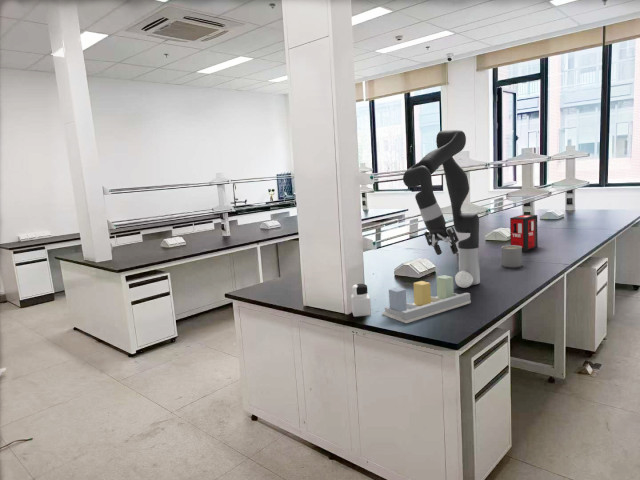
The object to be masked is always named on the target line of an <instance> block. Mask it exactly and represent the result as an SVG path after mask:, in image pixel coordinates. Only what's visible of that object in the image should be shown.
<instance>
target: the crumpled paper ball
mask: <svg viewBox="0 0 640 480" xmlns="http://www.w3.org/2000/svg"><path fill="white" fill-rule="evenodd" d="M454 280H455V283H456V285H457V286H458V287H460V288H463V289H466V288H467V289H468V288H469V287H470V286H472V285H471V284H472V282H473V277H472V276H471V275H470V274H469V273H468V272H466V271H461V272H459V271H458V272H457V273H456V274H455V276H454Z"/></svg>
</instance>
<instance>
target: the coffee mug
mask: <svg viewBox="0 0 640 480" xmlns="http://www.w3.org/2000/svg"><path fill="white" fill-rule="evenodd" d="M501 266H502V267H505V268H520V267H522V266H523V251H522V247H521V246H517V245H511V244H509V245H503V246H501Z"/></svg>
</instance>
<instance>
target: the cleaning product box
mask: <svg viewBox="0 0 640 480" xmlns="http://www.w3.org/2000/svg"><path fill="white" fill-rule="evenodd" d="M509 222H510V223H509V225H510V226H509V229H510V231H509V232H510V233H509V235H510V237H509V238H510V240H509V241H510V245H517V246H521V247H522V252H527V251H529V250H533V249H535V248H537V247H538V214H520V215H516V216H513V217H509Z"/></svg>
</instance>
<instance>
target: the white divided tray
mask: <svg viewBox="0 0 640 480" xmlns="http://www.w3.org/2000/svg"><path fill="white" fill-rule="evenodd" d="M406 303H407V310H406V311H402V312H400V311H397V310H394V309H391V308H390V307H387V306H385V307H384V311H382V312H381V313H382V315H383V316H385V317H387V318H391V319H393V320H395V321H399V322H401V323H404V324H408V323H411V322H416V321H418V320H421V319H424V318H427V317H431V316H435V315H436V314H437V315H438V314H440V313H443V312H446V311H449V310H452V309H456V308H459V307H462V306H465V305H469V304H471V303H472V301H471V293H469V292H464V293H463V292H462V293H460V294H459V293H456V292H454V296H453V297H449V298H446V299H441V298H438V297H437V295H436V296H432V295H431V303H429V304H426V305H423V306H419V305H416V304H414V302H412V303H410V302H407V301H406Z"/></svg>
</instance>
